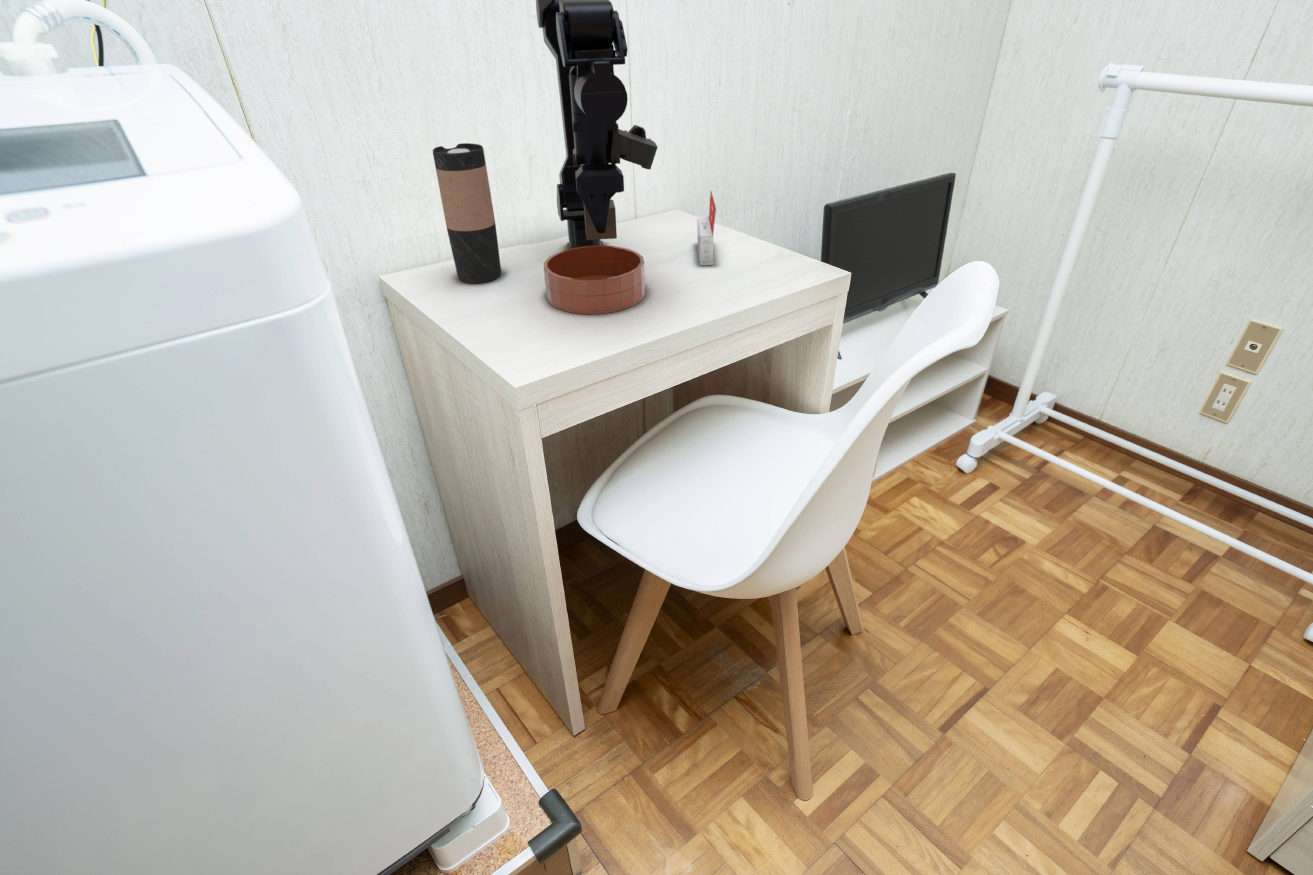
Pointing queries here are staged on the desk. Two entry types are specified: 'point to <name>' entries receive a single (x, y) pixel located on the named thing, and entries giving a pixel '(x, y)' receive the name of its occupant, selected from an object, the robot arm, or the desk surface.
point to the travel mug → (468, 211)
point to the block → (610, 226)
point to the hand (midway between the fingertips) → (600, 227)
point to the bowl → (595, 279)
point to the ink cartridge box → (706, 235)
